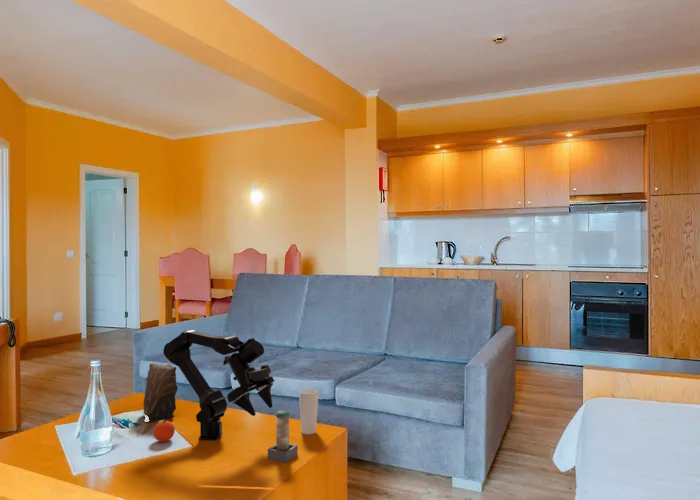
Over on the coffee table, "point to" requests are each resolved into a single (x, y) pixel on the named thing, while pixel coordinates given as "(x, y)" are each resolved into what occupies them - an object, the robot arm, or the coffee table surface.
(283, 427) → the ivory peg
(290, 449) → the charcoal holder block
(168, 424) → the tomato
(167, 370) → the brown tree stump
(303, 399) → the drinking glass
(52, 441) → the coffee table surface
